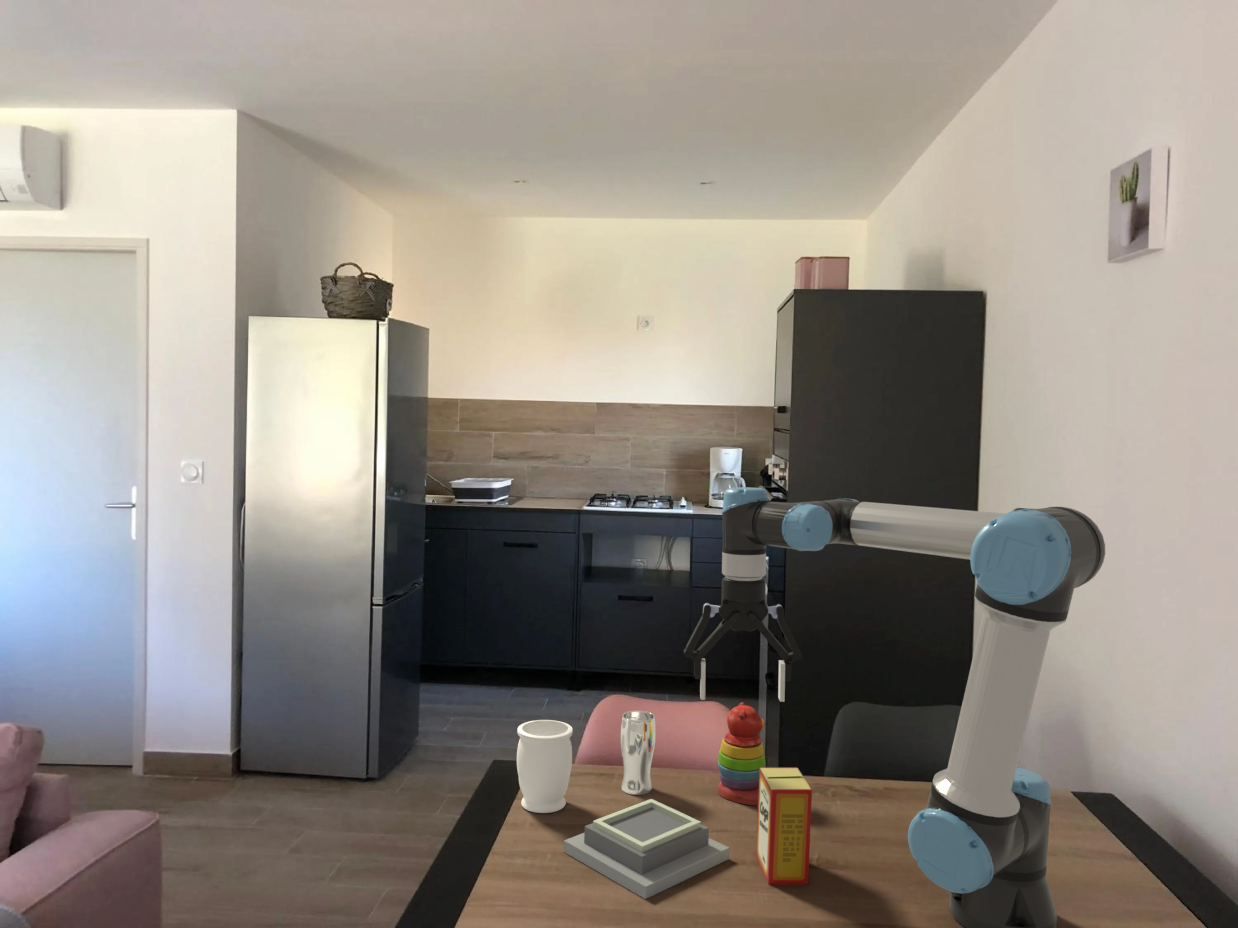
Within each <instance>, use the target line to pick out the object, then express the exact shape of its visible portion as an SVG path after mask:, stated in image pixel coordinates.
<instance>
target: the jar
mask: <svg viewBox="0 0 1238 928" xmlns="http://www.w3.org/2000/svg"><path fill="white" fill-rule="evenodd" d="M516 732H517V733H516V734H517V736H518V737H519V741H518V744H517V750H516V770H517V775H518V784H519V788H520V792H521V793H522V795H523V797H522V799H521V802H520V804H521V806H522V808H523V809H525V810H526V811H529V812H532V813H537V814H538V813H539V814H548V813H549V814H550V813H555V812H558V811H561V810H562V809H563V808H564V807H565V806H566V803H567V801H566V799H565V797H564V796H565V795H566V792H567V789H568V787H569V783H570V776H571V773H572V767H573V748H572V742H571V736H572V735H573V726H571V725H570V724H568V723H567V722H563V721H561V720H560V721H559V720H554V719H553V720H552V719H537V720H536V719H533V720H530V721H526V722H523V723H521V724H519V725H518V726H517V731H516Z"/></svg>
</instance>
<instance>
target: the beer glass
mask: <svg viewBox="0 0 1238 928" xmlns="http://www.w3.org/2000/svg"><path fill="white" fill-rule="evenodd" d="M621 715H622V718H621V725H620V748H621V756H622V764H623V778H622V782H621V787H620V788H621V790H622V791H623V793H626V794H628V795H632V796H642V795H646V794H649V793H651V791H652V789H653V788H652V787H653V786H652V780H651V768H652V767H651V766H652V762H653V756H654V752H655V746H656V716H655V714H654V713H652V712H649V711H645V710H630V711H629V710H628V711H625V712H624V713H622V714H621Z"/></svg>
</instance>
